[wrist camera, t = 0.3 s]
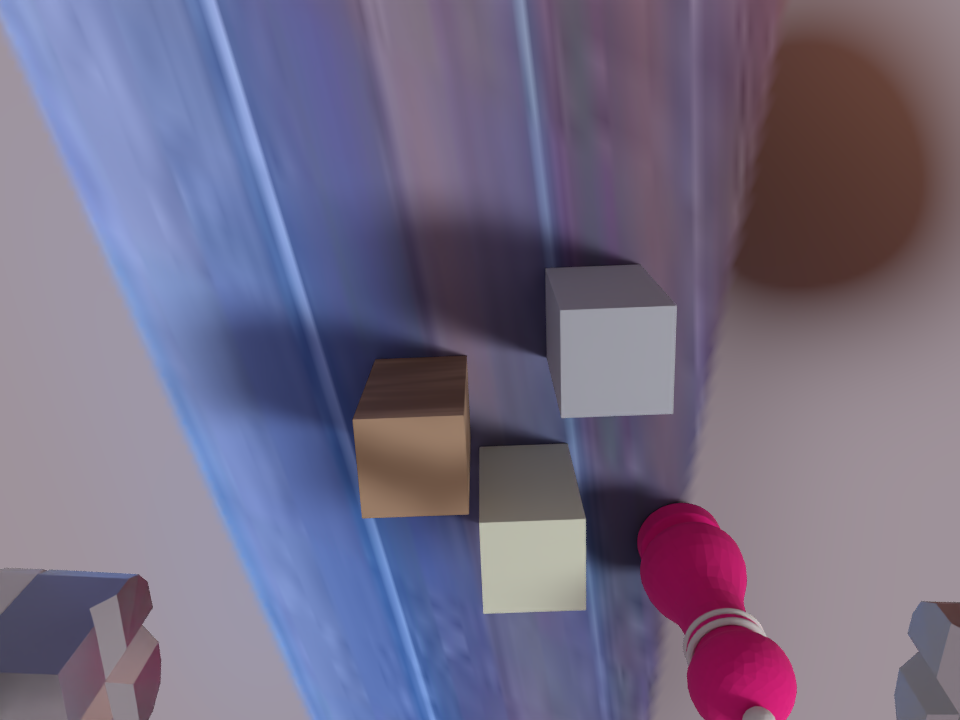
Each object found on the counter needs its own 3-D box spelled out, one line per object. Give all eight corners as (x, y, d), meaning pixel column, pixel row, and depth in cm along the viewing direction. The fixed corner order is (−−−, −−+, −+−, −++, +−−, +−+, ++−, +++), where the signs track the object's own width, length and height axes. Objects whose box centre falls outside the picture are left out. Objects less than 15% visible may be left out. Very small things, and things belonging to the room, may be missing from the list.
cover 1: (479, 446, 60) (479, 523, 50) (567, 443, 60) (585, 518, 50) (482, 524, 62) (483, 613, 52) (568, 521, 62) (585, 609, 52)
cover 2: (545, 268, 56) (560, 310, 46) (639, 264, 56) (676, 305, 45) (546, 358, 58) (561, 418, 48) (638, 354, 58) (672, 413, 47)
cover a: (375, 359, 58) (352, 419, 48) (466, 355, 58) (463, 415, 48) (382, 442, 60) (362, 518, 50) (470, 439, 60) (468, 514, 50)
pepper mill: (654, 482, 61) (734, 662, 42) (742, 514, 62) (859, 704, 43) (614, 562, 63) (673, 767, 44) (700, 591, 64) (793, 805, 45)
